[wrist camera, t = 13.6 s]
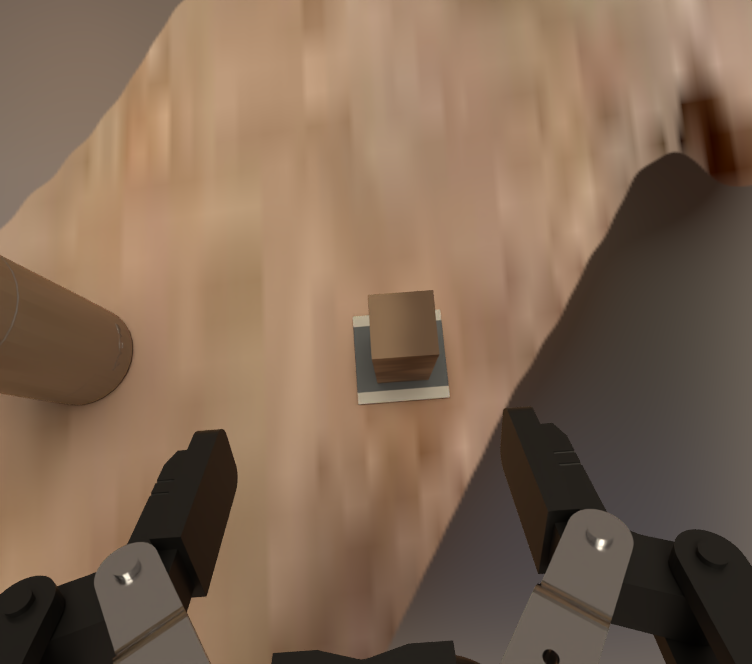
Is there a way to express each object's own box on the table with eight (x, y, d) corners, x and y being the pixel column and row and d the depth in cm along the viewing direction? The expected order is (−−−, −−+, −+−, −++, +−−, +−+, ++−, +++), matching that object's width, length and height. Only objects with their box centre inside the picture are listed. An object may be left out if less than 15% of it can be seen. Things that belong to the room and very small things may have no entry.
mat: (358, 404, 43) (358, 404, 43) (352, 317, 45) (352, 316, 45) (449, 397, 43) (449, 397, 43) (439, 309, 45) (440, 309, 45)
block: (377, 383, 43) (371, 359, 32) (374, 334, 44) (367, 295, 34) (428, 379, 43) (439, 354, 32) (423, 330, 44) (433, 290, 34)
